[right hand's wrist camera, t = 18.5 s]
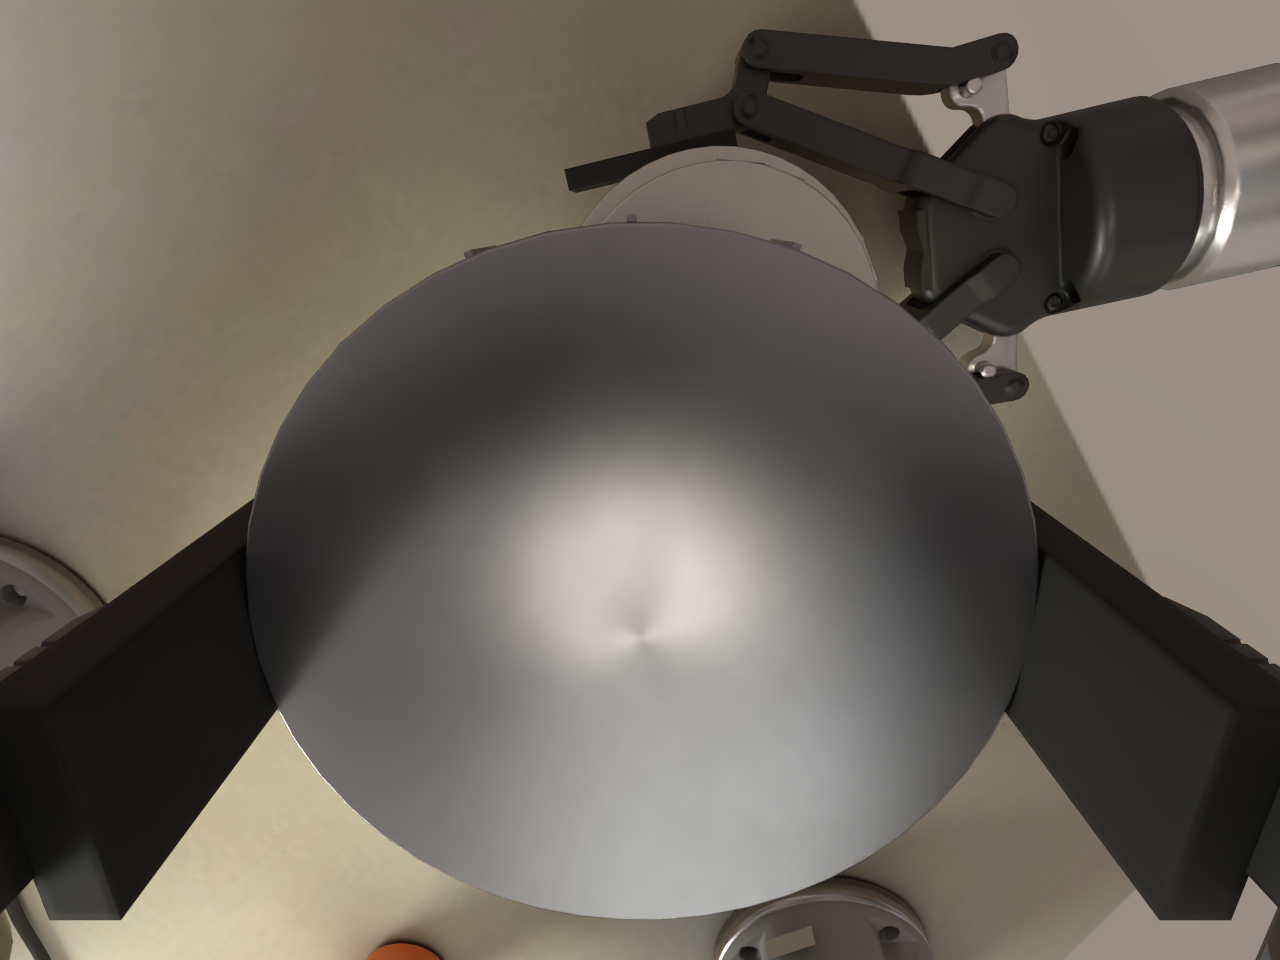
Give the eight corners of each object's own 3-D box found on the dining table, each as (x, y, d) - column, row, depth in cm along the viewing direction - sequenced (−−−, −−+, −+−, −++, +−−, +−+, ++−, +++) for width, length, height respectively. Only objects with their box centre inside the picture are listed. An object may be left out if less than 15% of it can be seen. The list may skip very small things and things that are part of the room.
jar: (779, 394, 37) (860, 505, 23) (583, 377, 37) (540, 479, 23) (812, 182, 34) (932, 156, 19) (595, 163, 33) (553, 121, 19)
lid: (601, 31, 9) (589, -24, 7) (1109, 534, 12) (1213, 603, 10) (191, 589, 12) (96, 667, 10) (669, 899, 15) (674, 1014, 13)
